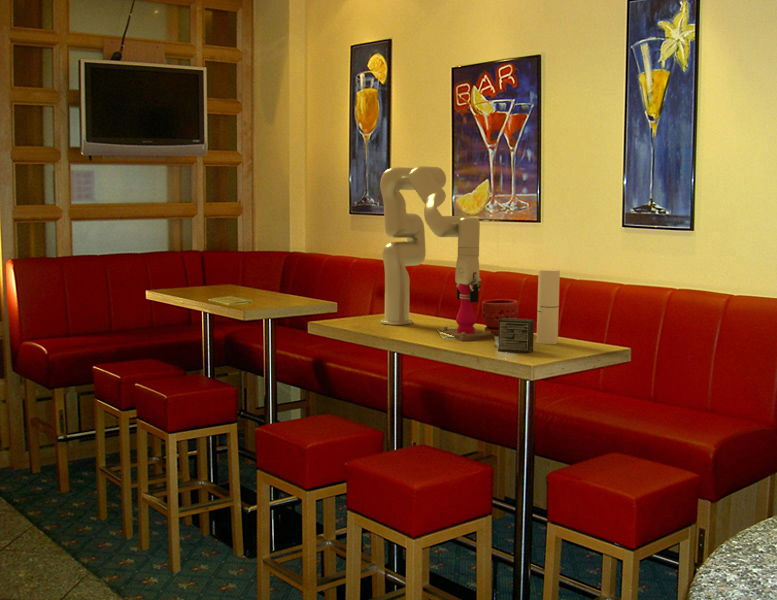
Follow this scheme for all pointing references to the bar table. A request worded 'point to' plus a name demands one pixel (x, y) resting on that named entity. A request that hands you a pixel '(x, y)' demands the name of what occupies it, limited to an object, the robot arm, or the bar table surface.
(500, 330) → the small box
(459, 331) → the pepper mill
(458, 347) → the bar table surface
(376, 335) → the bar table surface
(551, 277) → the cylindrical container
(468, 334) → the serving board
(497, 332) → the plant pot
